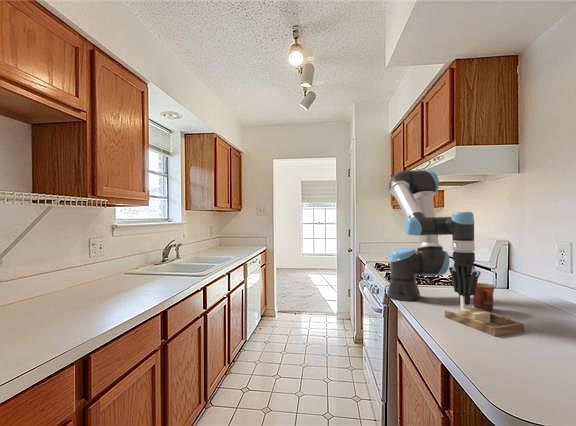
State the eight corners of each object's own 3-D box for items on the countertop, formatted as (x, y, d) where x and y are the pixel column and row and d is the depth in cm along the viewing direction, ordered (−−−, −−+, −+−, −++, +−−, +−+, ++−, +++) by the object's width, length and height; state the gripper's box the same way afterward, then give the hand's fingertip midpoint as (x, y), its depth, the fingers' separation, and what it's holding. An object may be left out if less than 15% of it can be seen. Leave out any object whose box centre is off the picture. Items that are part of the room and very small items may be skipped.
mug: (468, 306, 138) (467, 282, 138) (490, 306, 137) (489, 283, 137) (478, 314, 127) (478, 288, 127) (503, 315, 125) (502, 289, 125)
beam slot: (444, 317, 124) (444, 309, 124) (471, 313, 128) (471, 306, 128) (494, 336, 104) (494, 327, 104) (524, 331, 108) (524, 323, 108)
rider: (459, 319, 121) (459, 308, 121) (473, 317, 123) (473, 306, 123) (475, 325, 115) (475, 313, 115) (490, 323, 117) (489, 311, 117)
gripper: (442, 250, 128) (444, 308, 128) (470, 253, 116) (471, 318, 116) (457, 249, 131) (458, 306, 130) (485, 252, 118) (487, 316, 118)
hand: (464, 312), depth 123 cm, fingers closed
